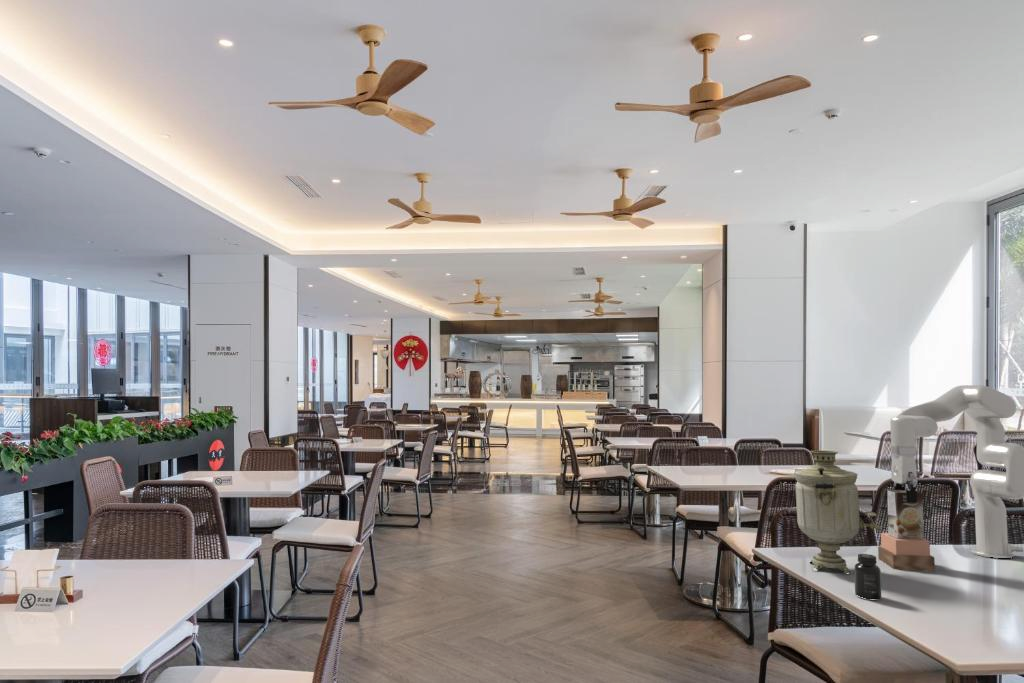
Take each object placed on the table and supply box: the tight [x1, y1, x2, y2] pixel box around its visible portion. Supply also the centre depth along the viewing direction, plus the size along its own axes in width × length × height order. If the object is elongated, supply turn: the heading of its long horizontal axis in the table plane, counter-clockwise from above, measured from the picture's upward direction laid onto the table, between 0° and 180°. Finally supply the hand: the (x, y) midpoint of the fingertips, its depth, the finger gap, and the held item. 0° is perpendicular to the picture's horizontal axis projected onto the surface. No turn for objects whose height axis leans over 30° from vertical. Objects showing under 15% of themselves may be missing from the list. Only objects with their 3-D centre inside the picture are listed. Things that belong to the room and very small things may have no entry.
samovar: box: [793, 450, 883, 574], centre depth 217 cm, size 30×26×40 cm
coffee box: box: [887, 489, 925, 539], centre depth 225 cm, size 9×6×16 cm
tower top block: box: [880, 532, 931, 556], centre depth 224 cm, size 11×11×5 cm
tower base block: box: [877, 545, 936, 572], centre depth 224 cm, size 13×13×5 cm
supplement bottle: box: [853, 553, 882, 600], centre depth 189 cm, size 7×7×12 cm
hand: (905, 499), depth 226 cm, fingers open, 9 cm apart
